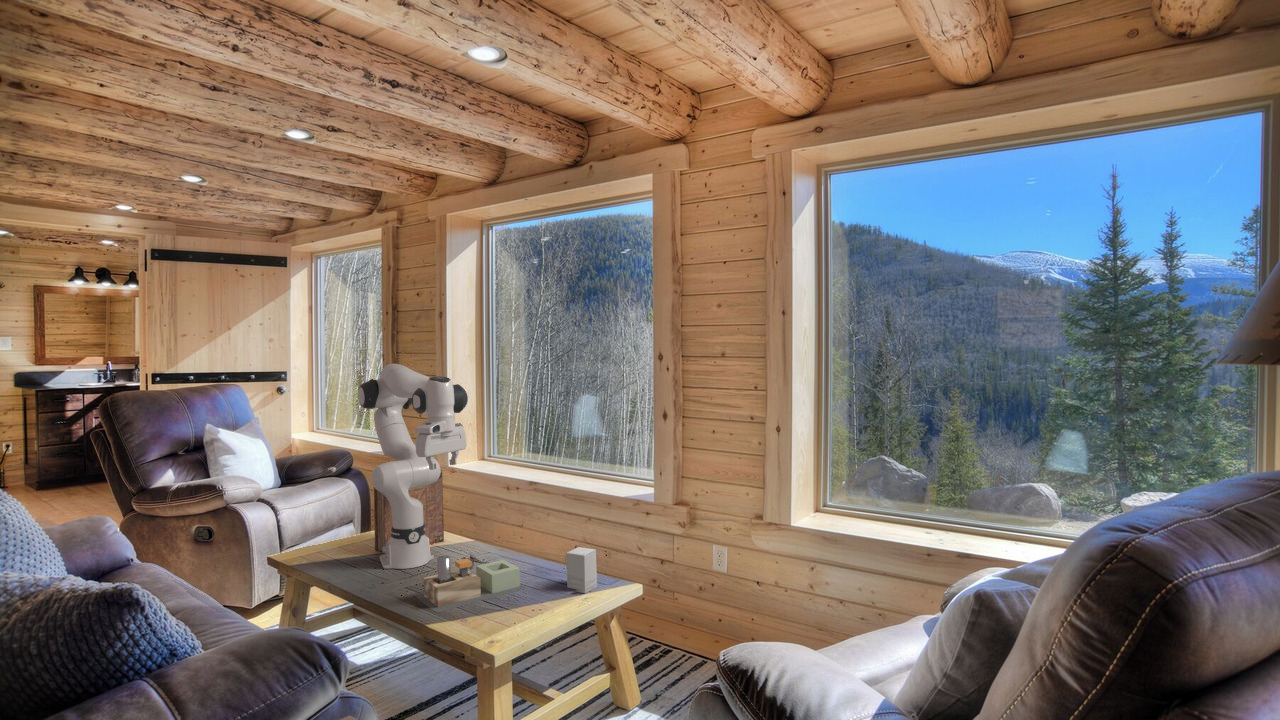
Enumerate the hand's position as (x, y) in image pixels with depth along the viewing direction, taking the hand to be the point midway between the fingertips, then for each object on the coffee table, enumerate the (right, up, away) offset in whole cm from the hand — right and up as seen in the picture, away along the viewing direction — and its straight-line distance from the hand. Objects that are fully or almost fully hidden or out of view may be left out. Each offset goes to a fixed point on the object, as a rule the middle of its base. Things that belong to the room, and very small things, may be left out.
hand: (443, 467), depth 225 cm
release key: (+9, -35, -6) cm, 36 cm away
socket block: (+5, -40, -9) cm, 41 cm away
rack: (+18, -40, +1) cm, 43 cm away
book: (-28, -41, +51) cm, 71 cm away
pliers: (+4, -41, +26) cm, 48 cm away
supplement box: (+46, -40, -1) cm, 61 cm away
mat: (+11, -41, -5) cm, 42 cm away
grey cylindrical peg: (+3, -39, -10) cm, 41 cm away
